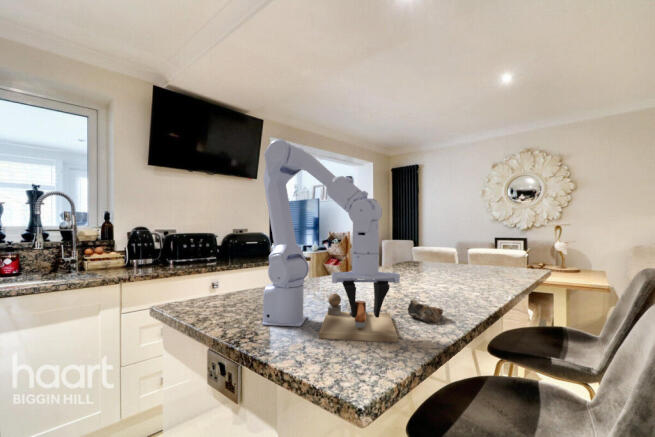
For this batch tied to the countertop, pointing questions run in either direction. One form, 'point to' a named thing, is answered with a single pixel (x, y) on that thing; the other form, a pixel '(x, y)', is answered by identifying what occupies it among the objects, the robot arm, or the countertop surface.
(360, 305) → the lever
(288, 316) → the robot arm
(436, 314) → the rock
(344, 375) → the countertop surface
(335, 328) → the base
